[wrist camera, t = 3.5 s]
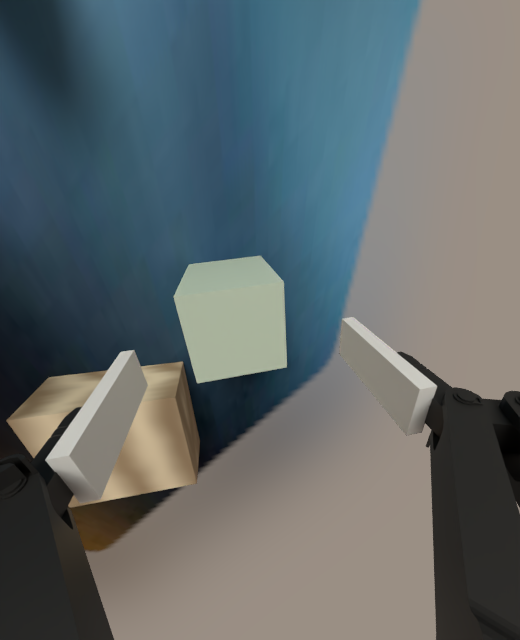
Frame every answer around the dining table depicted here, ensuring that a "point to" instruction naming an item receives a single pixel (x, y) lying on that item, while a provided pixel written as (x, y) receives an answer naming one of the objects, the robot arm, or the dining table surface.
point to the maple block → (143, 437)
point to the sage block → (232, 318)
